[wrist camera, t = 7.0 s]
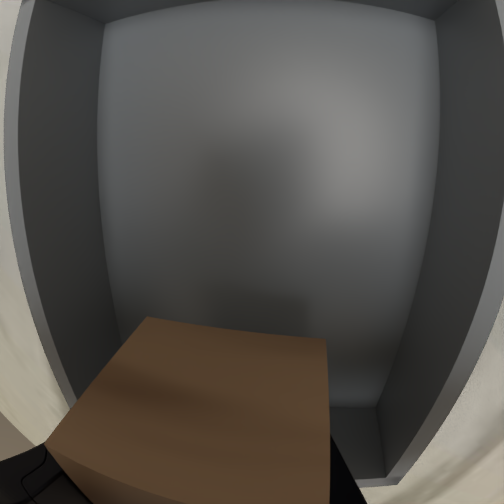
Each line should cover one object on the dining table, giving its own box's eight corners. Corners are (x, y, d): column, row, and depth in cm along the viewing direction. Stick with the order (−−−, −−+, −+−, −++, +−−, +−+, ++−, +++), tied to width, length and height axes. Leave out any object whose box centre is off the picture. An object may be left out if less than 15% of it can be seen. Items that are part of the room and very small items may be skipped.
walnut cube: (301, 444, 9) (287, 566, 5) (168, 423, 10) (118, 527, 5) (325, 338, 8) (328, 520, 3) (146, 316, 8) (43, 444, 4)
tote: (383, 403, 13) (397, 484, 8) (128, 371, 15) (84, 434, 10) (441, 17, 7) (504, -33, 2) (105, 19, 9) (25, -13, 4)
